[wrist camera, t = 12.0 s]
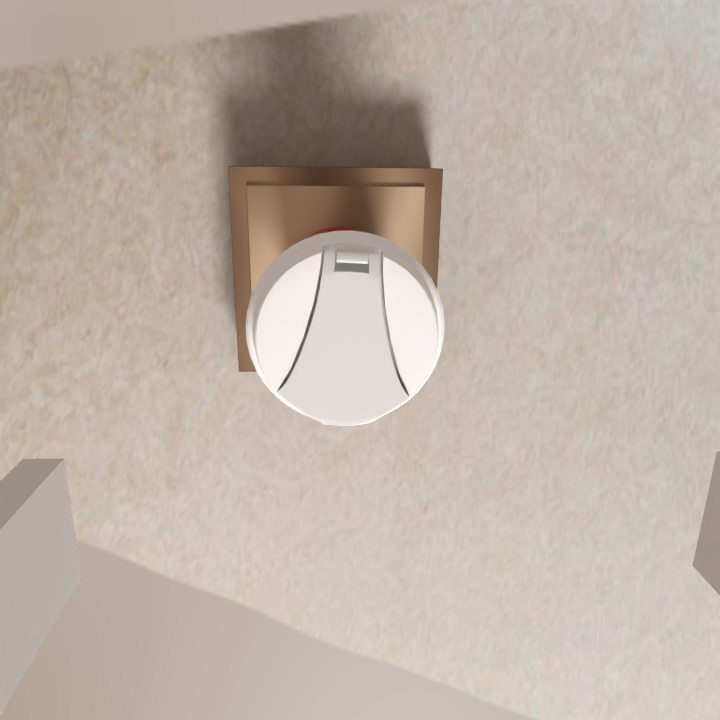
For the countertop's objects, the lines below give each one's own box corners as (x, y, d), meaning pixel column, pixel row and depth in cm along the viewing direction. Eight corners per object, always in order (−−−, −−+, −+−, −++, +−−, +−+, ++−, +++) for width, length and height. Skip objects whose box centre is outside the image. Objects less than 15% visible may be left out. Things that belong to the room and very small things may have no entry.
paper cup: (273, 203, 34) (242, 227, 21) (408, 211, 35) (462, 241, 21) (270, 337, 36) (240, 436, 23) (397, 343, 37) (439, 443, 24)
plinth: (431, 168, 38) (443, 168, 34) (423, 351, 42) (433, 370, 38) (237, 166, 37) (227, 166, 33) (246, 353, 41) (238, 372, 37)
